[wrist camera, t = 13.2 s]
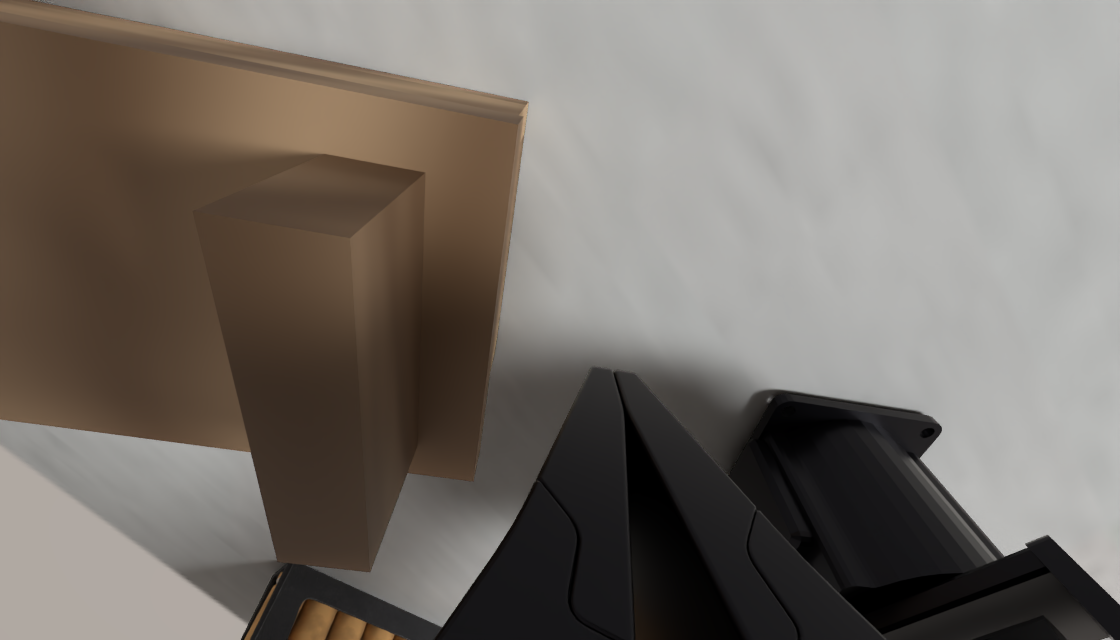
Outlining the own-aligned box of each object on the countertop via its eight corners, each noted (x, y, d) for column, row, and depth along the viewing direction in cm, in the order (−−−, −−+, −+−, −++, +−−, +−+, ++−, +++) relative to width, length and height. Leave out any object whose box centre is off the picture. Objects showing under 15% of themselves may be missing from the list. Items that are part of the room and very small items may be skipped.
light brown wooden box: (528, 101, 12) (511, 125, 8) (495, 350, 16) (473, 441, 12) (-17, -10, 11) (-327, -42, 7) (98, 288, 15) (-58, 367, 11)
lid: (523, 116, 8) (489, 167, 4) (479, 451, 12) (445, 609, 9) (-365, -62, 7) (-1334, -179, 3) (-67, 375, 11) (-356, 523, 8)
